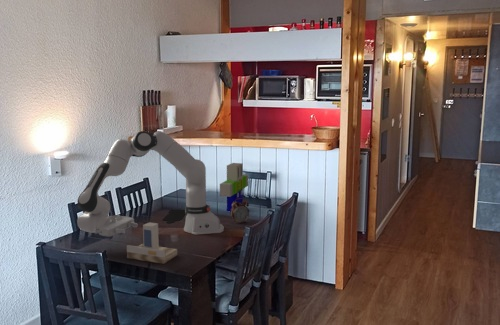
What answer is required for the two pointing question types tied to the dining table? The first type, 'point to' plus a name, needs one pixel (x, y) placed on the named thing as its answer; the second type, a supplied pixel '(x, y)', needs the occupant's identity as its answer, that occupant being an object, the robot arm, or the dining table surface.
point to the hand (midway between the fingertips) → (131, 228)
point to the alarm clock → (239, 211)
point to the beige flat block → (151, 253)
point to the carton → (151, 235)
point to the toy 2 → (234, 184)
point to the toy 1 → (174, 216)
